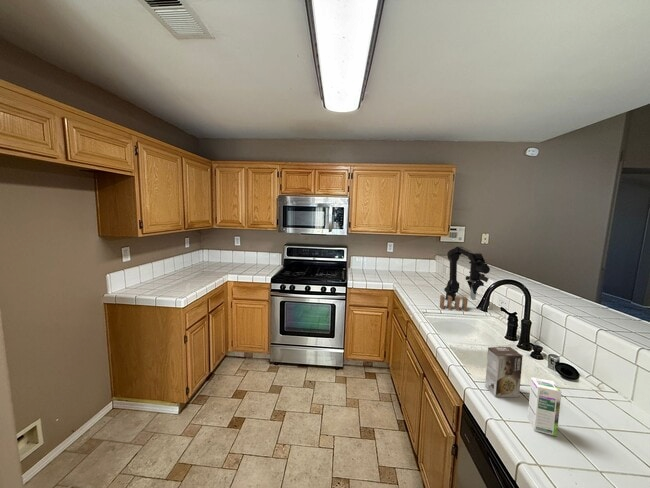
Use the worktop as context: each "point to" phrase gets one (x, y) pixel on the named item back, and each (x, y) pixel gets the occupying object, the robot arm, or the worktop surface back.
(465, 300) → the domino
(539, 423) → the syrup box
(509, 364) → the coffee box
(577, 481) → the worktop surface
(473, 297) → the domino
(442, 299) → the domino
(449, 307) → the domino
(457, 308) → the domino
